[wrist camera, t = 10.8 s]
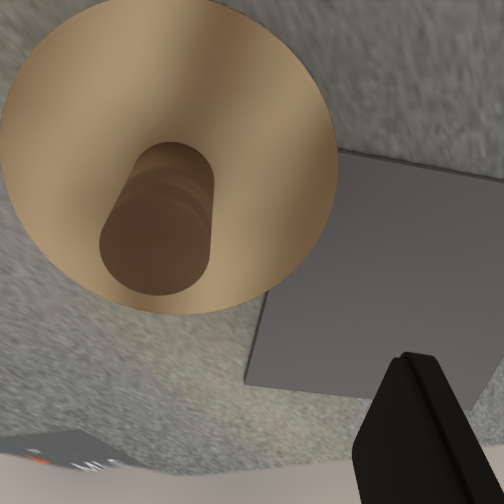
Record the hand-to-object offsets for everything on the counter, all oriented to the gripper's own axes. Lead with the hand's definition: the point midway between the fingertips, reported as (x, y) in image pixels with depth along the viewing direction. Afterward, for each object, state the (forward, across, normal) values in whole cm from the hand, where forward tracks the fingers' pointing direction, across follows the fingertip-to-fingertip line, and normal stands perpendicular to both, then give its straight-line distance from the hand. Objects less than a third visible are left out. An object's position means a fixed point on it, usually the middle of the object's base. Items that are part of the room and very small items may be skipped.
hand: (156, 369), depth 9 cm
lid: (+11, +1, 0) cm, 11 cm away
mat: (+16, -13, +7) cm, 22 cm away
